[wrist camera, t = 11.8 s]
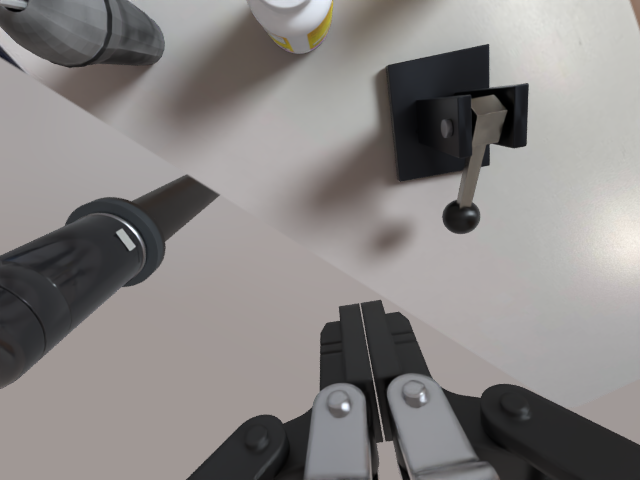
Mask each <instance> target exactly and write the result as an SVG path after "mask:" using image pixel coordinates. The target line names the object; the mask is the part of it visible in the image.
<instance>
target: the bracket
mask: <svg viewBox="0 0 640 480" xmlns="http://www.w3.org/2000/svg"><path fill="white" fill-rule="evenodd" d="M386 73H387V82H388V92H389V101H390V111H391V121H392V130H393V140H394V149H395V159H396V168H397V178H398V180H399V181H400V182H401V181H406V180H412V179H417V178H423V177H428V176H434V175H439V174H445V173H450V172H456V171H461V170H463V168H464V163H465V158H466V157H470V156H472V112H471V99H474V98H479V97H484V96H489V95H495V96H496V97H497V98H498V100H499V101H500V102H501V103H502V104H503V105H504V107H505V108H506V109H507V114H506V118H505V121H504V125H503V128H502V132H501V135H500V139H499V142H498V143H492V144H496V145H501V146H505V147H510V148H519V147H524V146H526V144H527V116H528V87H529V84H528V83H525V84H517V85H509V86H500V87H492V88H489V44H486V45H482V46H477V47H472V48H467V49H463V50H458V51H453V52H448V53H444V54H439V55H434V56H429V57H425V58H420V59H415V60H410V61H405V62H401V63H396V64H391V65H388V66H386ZM489 165H490V144H487V145H486V148H485V152H484V156H483V160H482V164H481V167H483V166H489Z"/></svg>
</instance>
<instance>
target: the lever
mask: <svg viewBox="0 0 640 480" xmlns="http://www.w3.org/2000/svg"><path fill="white" fill-rule="evenodd" d="M471 112H472V156H470V157H466V158H465V163H464V168H463V173H462V178H461V183H460V188H459V193H458V198H457V200H455V201H452V202H451V203H449V204H448V205H447V206H446V207H445V209H444V211H443V216H442V218H443V223H444V225H445V227H446V228H447V229H448V230H450V231H451V232H453V233H456V234H466V233H469V232H471V231H472V230H474V229H475V228H476V227H477V225H478V223H479V221H480V212H479V209H478V207H477V206H476V205H475V204H474V203H473V202H472V200H473V196H474V192H475V188H476V184H477V180H478V176H479V172H480V168H481V164H482V160H483V156H484V152H485V148H486V145H487V144H492V143H498V142H499V139H500V135H501V132H502V128H503V125H504V121H505V118H506V114H507V109H506V108H505V107H504V105H503V104H502V103H501V102H500V101H499V100H498V98H497V97H496V96H495V95H489V96H484V97H479V98H474V99H471Z"/></svg>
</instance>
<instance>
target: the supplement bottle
mask: <svg viewBox="0 0 640 480" xmlns="http://www.w3.org/2000/svg"><path fill="white" fill-rule="evenodd" d="M247 2H248V5H249V7H250V9H251V11H252V13H253V15H254V16H255V18H256V19H257V21H258V22H259V23H260V24H261V25H262V27H263V28H264V29H265V31H266V32H267V33H268V34H269V36H270V37H271V38H272V40H273V41H274V42H275V43H276V44H277V45H278V46H280V47H281V48H282V49H284V50H286V51H288V52H291V53H297V54H300V53H306V52H309V51H312V50H313V49H315V48H317V47H318V46H319V45H320V44H321V43H322V42H323V41H324V39H325V38H326V36H327V34H328V32H329V29H330V26H331V21H332V10H333V0H247Z"/></svg>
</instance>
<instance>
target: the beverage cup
mask: <svg viewBox="0 0 640 480" xmlns="http://www.w3.org/2000/svg"><path fill="white" fill-rule="evenodd" d="M0 27H1V28H2V29H3V30H4V31H5V32H6V33H7V34H8V35H9V36H10V37H11V38H12V39H13V40H14V41H15V42H16V43H18V44H19V45H20V46H22V47H23V48H25V49H27V50H28V51H30V52H32V53H34V54H35V55H37V56H39V57H41V58H43V59H46V60H48V61H50V62H52V63H54V64H58V65H61V66H65V67H69V68H72V67H84V66H87V65H92V64H119V65H150V64H153V63H155V62H157V61H158V60H159V59H160V58H161V57H162V54H163V51H164V44H165V42H164V37H163V34H162V32H161V30H160V28H159V26H158V25H157V24H156V23H155V21H154V20H152V19H151V18H149V16H148V15H147V14H145V13H144V12H143V11H141V10H140V9H139V8H137V7H136V6H135V5H133V4H132V3H130V2H129V1H128V0H0Z"/></svg>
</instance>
